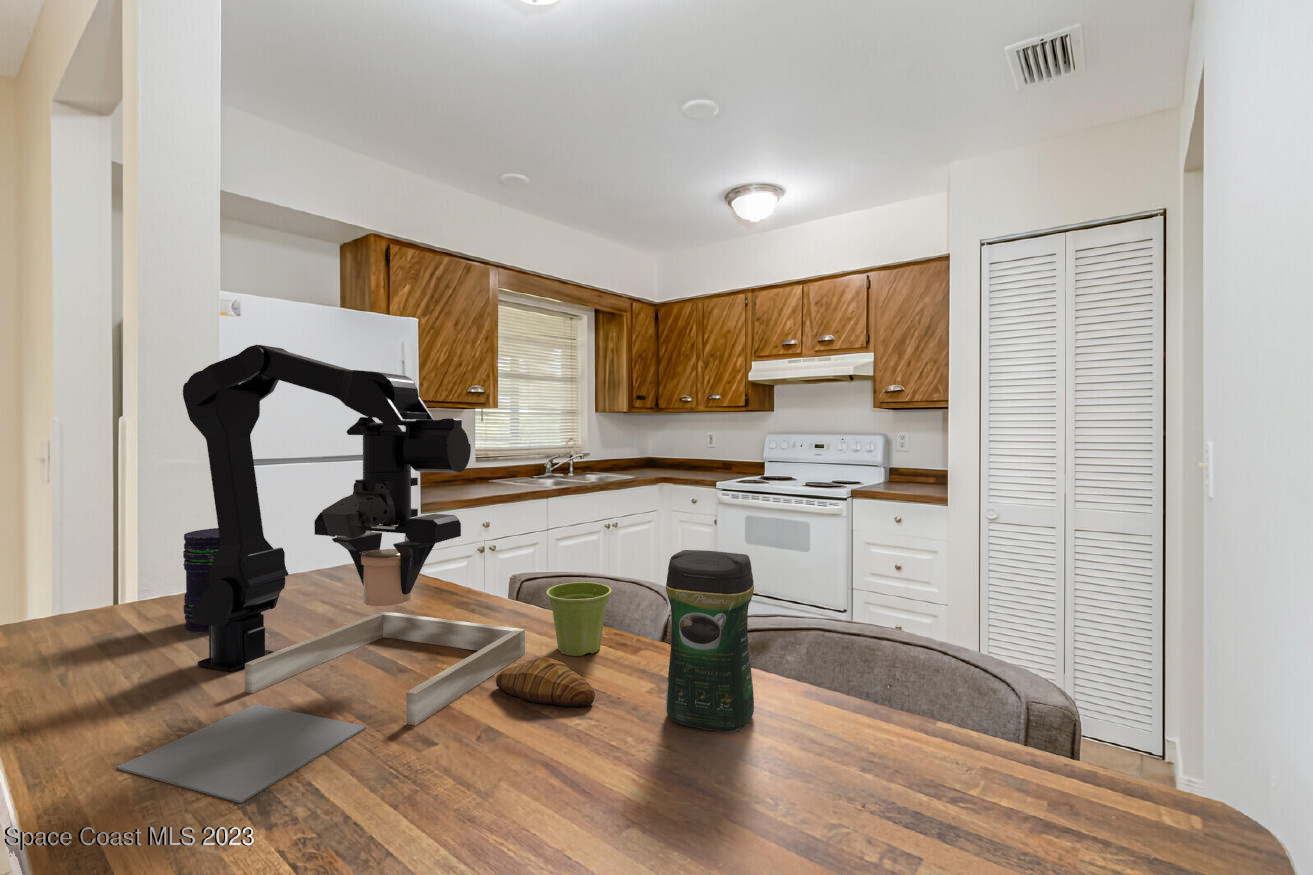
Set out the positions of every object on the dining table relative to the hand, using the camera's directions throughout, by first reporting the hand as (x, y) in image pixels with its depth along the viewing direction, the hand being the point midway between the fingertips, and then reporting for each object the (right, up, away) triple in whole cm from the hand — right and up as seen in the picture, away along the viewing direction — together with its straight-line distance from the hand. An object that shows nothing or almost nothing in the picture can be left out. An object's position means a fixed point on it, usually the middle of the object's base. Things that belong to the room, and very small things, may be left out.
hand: (387, 591), depth 80 cm
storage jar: (-36, -11, +21) cm, 43 cm away
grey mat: (-6, -11, -18) cm, 22 cm away
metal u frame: (0, -11, +1) cm, 11 cm away
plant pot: (+23, -11, +10) cm, 28 cm away
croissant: (+21, -12, -6) cm, 25 cm away
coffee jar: (+41, -12, -10) cm, 44 cm away
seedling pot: (0, -1, 0) cm, 1 cm away
